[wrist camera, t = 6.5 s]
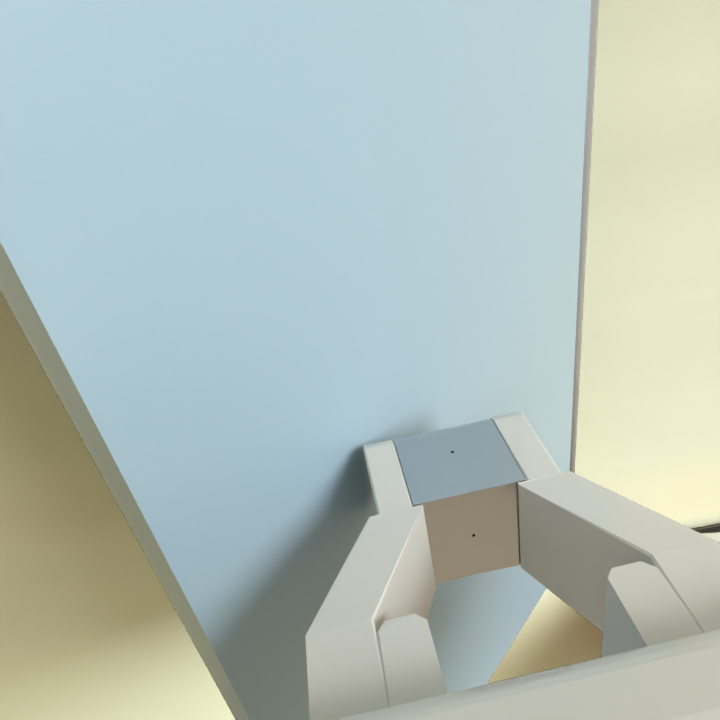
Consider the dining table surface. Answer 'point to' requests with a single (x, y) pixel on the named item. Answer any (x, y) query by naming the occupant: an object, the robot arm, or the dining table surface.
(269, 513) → the panel
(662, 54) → the dining table surface
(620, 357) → the dining table surface
